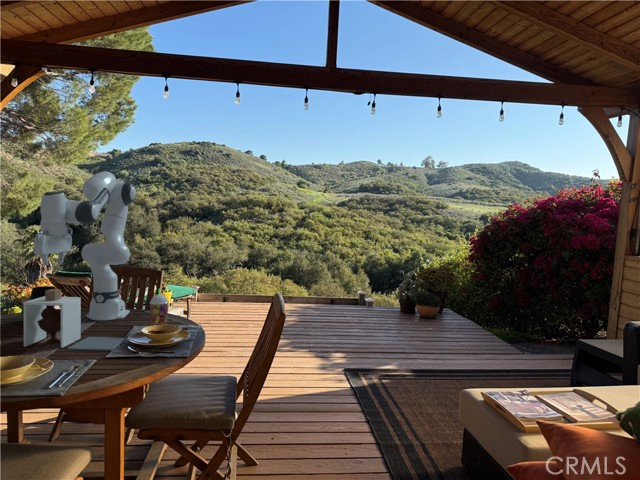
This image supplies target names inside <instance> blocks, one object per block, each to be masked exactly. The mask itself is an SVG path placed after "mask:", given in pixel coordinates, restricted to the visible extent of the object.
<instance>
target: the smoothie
mask: <svg viewBox="0 0 640 480" xmlns="http://www.w3.org/2000/svg"><path fill="white" fill-rule="evenodd" d="M169 302H170V301H169V300H168V297H167V296H165V295H164V294H161V288H158V294H155V295H154V296H152V298H151V300H150V301H149V308H150V309H149V311H150V327H151V326H153V325H162V324H167V325H168V316H169V314H168V313H169Z"/></svg>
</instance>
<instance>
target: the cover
mask: <svg viewBox="0 0 640 480" xmlns="http://www.w3.org/2000/svg"><path fill="white" fill-rule="evenodd" d="M81 300H82V299H81V296H80V297H79V296H62V289H57V288H56V289H51V290H47V291H45V296H44V297H40V298H37V299H33V300H30V299H29V300H27V301H23V307H24V319H23V347H28V346H30V345H32V344H35V343H36V342H40V341H43V340H44V339H46V338H47V334H46V332H45V331H43V330H42V329H41V328H40V327H39V325H38V321H39V320H41V319H43V318H42V316H41V312H42V311H43V310H44V309H45V308H46V305H49V306H54V307H55V306H56V307H57V306H60V310H61V330H60V340H61V342H60V348H62V349H63V348H65V347H67V346H69V345H71V344H72V343H75V342H77V341H78V340H80V339H81V338H82V337H81V336H82V335H81V334H82V333H81V329H82V328H81V325H82V321H81V317H82V315H81V313H82V310H81V308H82V305H81V304H82V301H81Z"/></svg>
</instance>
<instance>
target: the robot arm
mask: <svg viewBox="0 0 640 480" xmlns="http://www.w3.org/2000/svg"><path fill="white" fill-rule="evenodd" d="M81 190H82V193H83V195H84V197H85V198H86V199H87V200H70V199H68V198H66V196H65V193H64V192H63V191H59V190H58V191H45V192H44V193H43V194H42V196H41V200H40V216H41V220H40V231H37V234H35V237H34V240H33V249H32V250H33V254H34V255H39V256H40V258H41V261H42V266H49V265H50V260H48V259H49V258H48V257H49V255H51V254H58V257H57V258H56V263H58V264H62V263H64V258H65V256H66V252H70V251H71V250H72V246H73V245H72V244H73V243H72V242H73V238H72V235H73V229H72V228H69V227H68V226H67V223H70V224H72V223H73V224H84V225H92V224H94V223H96V221H97V220H98V218H99V216H100V214H101V212H102V211H103V209H104V208H105V206H106V205H107V206H106V209H105V210H104V215H103V216H102V217H103V218H102V222H101V225H100V232H101V234H102V235H104V237H105V242H90V243H87V244H85V245H84V246H83V247H82V250H81V258H82V259H83V260H84V261H85V262H86V264H88V267H89V269H90V270H91V273H92V277H93V291H92V300H91V301H90V303H89V313H88V314H87V315H86V318H89V319H90V320H93V321H110V320H111V321H113V320H117V319H124V318H125V317H126V316H128V315H129V313H130V311H131V310H130V309H126V302H125V301H124V300H123V299H122V298H121V297H120V294H121V292H122V291H121V290H122V289H118V275H117V274H116V273H115V272H114V270H112V268H111V267H110V265H114V266H116V265H117V266H119V265H122V264H125V263H127V262H128V261H129V260H130V257H131V251H130V249H129V247H128V246H127V245H126V244H125V240H124V233H125V227H126V223H127V220H128V219H127V218H128V213H129V206H130V204H132V203H133V202H134V201H135V199H136V196H137V188H136V186H135V185H134V184H133V183H130V182H127V181H126V182H125V181H121V180H117V178H116V176H115V174H113V173H112V172H110V171H105V170H104V171H100V172H97V173H95V174H94V175H92V176H90V177H88V178H87V179H86V180H85V181H84V182H83V184H82V187H81Z"/></svg>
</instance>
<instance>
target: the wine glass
mask: <svg viewBox="0 0 640 480" xmlns="http://www.w3.org/2000/svg"><path fill="white" fill-rule="evenodd" d="M51 289H57V288H56V286H54V285H53V286H52V285H47V286H45V285H43V286H34V287H32V288H31V292H30V297H29V298H30V299H29V301H30V300H33V299H37V298H40V297H44V296H45V291H47V290H51ZM47 307H54V308H55V306H49V305H46V308H47ZM47 334H48V333H47V332H46V335H47Z"/></svg>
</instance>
